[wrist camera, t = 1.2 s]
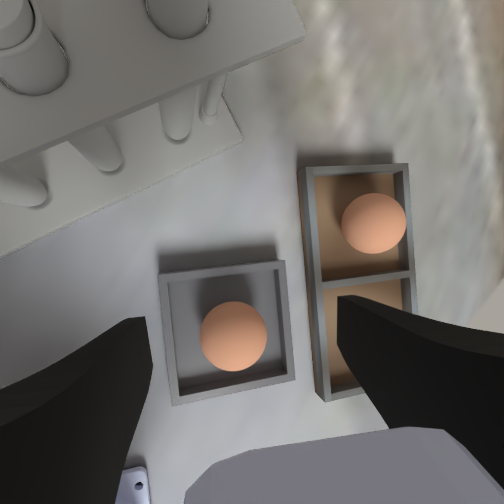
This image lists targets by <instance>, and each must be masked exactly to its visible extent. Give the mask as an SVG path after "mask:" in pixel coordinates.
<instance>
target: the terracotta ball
mask: <svg viewBox="0 0 504 504" xmlns="http://www.w3.org/2000/svg"><path fill="white" fill-rule="evenodd" d="M266 342H267V329H266V326H265V322H264V320H263V318H262V317H261V315H260V314H259V313H258V312H257V311H256V310H255V309H254V308H253V307H251V306H250V305H248V304H245V303H243V302H237V301H232V302H225V303H222V304H220V305H218V306H216V307H215V308H213V309H212V310H211V311H210V312H209V313H208V314H207V316H206V317H205V319H204V321H203V322H202V325H201V329H200V345H201V348H202V351H203V353H204V355H205V357H206V358H207V359H208V360H209V361H210V362H211V363H212V364H213V365H214V366H216V367H218V368H220V369H222V370H226V371H240V370H243V369H246V368H248V367H250V366H251V365H253V364H254V363H255V362H256V361H257V360H258V359H259V358H260V356H261V355H262V353H263V351H264V349H265V346H266Z"/></svg>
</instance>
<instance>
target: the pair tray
mask: <svg viewBox="0 0 504 504" xmlns="http://www.w3.org/2000/svg"><path fill="white" fill-rule="evenodd" d="M297 179H298V191H299V203H300V215H301V227H302V239H303V251H304V262H305V274H306V286H307V298H308V310H309V322H310V334H311V346H312V358H313V370H314V382H315V392H316V393H317V394H318V396H319V397H320V398H321V399H322V400H323V401H324V402H330V401H334V400H338V399H342V398H346V397H351V396H355V395H359V394H363V393H365V391H364V390H363V388H362V387H361V385H360V384H359V383H358V381H357V380H356V378H355V377H354V375H353V374H352V372H351V371H350V369H349V368H348V366H347V364H346V362H345V360H344V358H343V356H342V354H341V352H340V350H339V348H338V346H337V296H345V295H357V296H361V297H365V298H368V299H371V300H374V301H377V302H380V303H382V304H385V305H388V306H391V307H394V308H397V309H400V310H403V311H406V312H409V313H412V314H415V315H418V304H417V289H416V274H415V259H414V244H413V229H412V214H411V199H410V184H409V169H408V163H398V164H371V165H344V166H317V167H305V168H303V169H301V170H300V171H298V172H297ZM370 193H380V194H384V195H388V196H390V197H392V198H393V199H395V200H396V201H397V202H398V203H399V204H400V205H401V207H402V208H403V210H404V213H405V216H406V229H405V232H404V235H403V237H402V238H401V240H400V241H399V242H398V243H397V244H396V245H395V246H394V247H393V248H391V249H389V250H387V251H385V252H382V253H376V254H369V253H364V252H361V251H358V250H356V249H355V248H353V247H352V246H351V245H350V244H349V243H348V242H347V241H346V239H345V237H344V235H343V233H342V228H341V221H342V216H343V213H344V211H345V209H346V208H347V206H348V205H349V204H350V203H351V202H352V201H353V200H355V199H356V198H358V197H360V196H362V195H365V194H370Z"/></svg>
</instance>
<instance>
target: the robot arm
mask: <svg viewBox="0 0 504 504" xmlns="http://www.w3.org/2000/svg"><path fill="white" fill-rule="evenodd" d="M337 346H338V348H339V350H340V352H341V354H342V356H343V358H344V360H345V362H346V364H347V366H348V368H349V369H350V371H351V372H352V374H353V375H354V377H355V378H356V380H357V381H358V383H359V384H360V385H361V387H362V388H363V390H364V391H365V393H366V394H367V396H368V397H369V399H370V400H371V401H372V403H373V404H374V406H375V407H376V409H377V410H378V412H379V413H380V415H381V416H382V418H383V419H384V421H385V422H386V424H387V426H388V427H389V429H387V430H380V431H374V432H367V433H360V434H354V435H347V436H341V437H334V438H327V439H321V440H314V441H307V442H301V443H294V444H288V445H281V446H274V447H268V448H261V449H254V450H249V451H246V452H243V453H241V454H238V455H235V456H233V457H230V458H227V459H224V460H222V461H219V462H216V463H214V464H213V465H211V466H210V467H209V468H208V469H207V470H206V471H205V472H204V473H203V474H202V475H201V476H200V477H199V478H198V480H197V481H196V482H195V483H194V484H193V485H192V486H191V487H190V488H189V489H188V490H187V491H186V493H185V499H184V504H504V334H502V333H496V332H489V331H483V330H477V329H471V328H466V327H462V326H457V325H453V324H448V323H444V322H440V321H436V320H432V319H429V318H425V317H422V316H419V315H415V314H412V313H409V312H406V311H403V310H400V309H397V308H394V307H391V306H388V305H385V304H382V303H380V302H377V301H374V300H371V299H368V298H365V297H361V296H357V295H345V296H337ZM152 369H153V362H152V356H151V350H150V344H149V338H148V332H147V326H146V320H145V316H144V317H134V318H127V319H125V320H123V321H121V322H119V323H118V324H116V325H115V326H113V327H112V328H110V329H109V330H107V331H106V332H104V333H103V334H101V335H100V336H98V337H97V338H95V339H94V340H92V341H91V342H89V343H87V344H86V345H84V346H83V347H81V348H79V349H78V350H76V351H74V352H73V353H71V354H70V355H68V356H66V357H65V358H63V359H61V360H60V361H58V362H56V363H54V364H52V365H51V366H49V367H47V368H45V369H43V370H41V371H39V372H37V373H35V374H33V375H31V376H29V377H27V378H25V379H23V380H21V381H19V382H16V383H14V384H12V385H9V386H7V387H5V388H3V389H0V504H151V503H150V495H149V486H148V477H147V471H146V469H145V468H144V467H135V468H131V469H127V470H123V467H124V463H125V460H126V457H127V453H128V450H129V447H130V444H131V441H132V438H133V435H134V432H135V430H136V427H137V424H138V421H139V418H140V415H141V412H142V409H143V406H144V403H145V400H146V397H147V394H148V390H149V385H150V380H151V375H152ZM137 482H142V483H143V484H142V485H136V483H137Z"/></svg>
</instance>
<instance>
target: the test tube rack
mask: <svg viewBox="0 0 504 504" xmlns="http://www.w3.org/2000/svg"><path fill="white" fill-rule="evenodd" d="M145 2H146V0H0V77H1V78H2V79H3V80H4V81H5V82H7V83H8V84H9V85H10V86H11V87H12V88H13V89H14V90H15V91H16V92H15V91H13V90H12V89H10V88H8V87H7V86H6V85H5V83H4V82H3V81H2V80H1V79H0V259H1V258H3V257H5V256H7V255H9V254H11V253H13V252H15V251H17V250H20V249H22V248H24V247H26V246H28V245H30V244H32V243H34V242H36V241H38V240H40V239H42V238H44V237H46V236H49V235H51V234H53V233H55V232H57V231H59V230H61V229H63V228H65V227H67V226H69V225H71V224H73V223H75V222H78V221H80V220H82V219H84V218H86V217H88V216H90V215H92V214H94V213H96V212H98V211H100V210H102V209H104V208H107V207H109V206H111V205H113V204H115V203H117V202H119V201H121V200H123V199H125V198H127V197H129V196H131V195H133V194H136V193H138V192H140V191H142V190H144V189H146V188H148V187H150V186H152V185H154V184H156V183H158V182H160V181H162V180H165V179H167V178H169V177H171V176H173V175H175V174H177V173H179V172H181V171H183V170H185V169H187V168H189V167H191V166H194V165H196V164H198V163H200V162H202V161H204V160H206V159H208V158H210V157H212V156H214V155H216V154H218V153H221V152H223V151H225V150H227V149H229V148H231V147H233V146H235V145H237V144H239V143H241V142H242V140H243V137H242V135H241V133H240V131H239V129H238V127H237V125H236V123H235V121H234V119H233V117H232V115H231V113H230V111H229V109H228V107H227V105H226V103H225V101H224V99H223V97H222V96H221V95H222V91H223V88H224V85H225V81H226V78H227V75H228V72H230V71H233V70H235V69H237V68H240V67H242V66H244V65H247V64H249V63H251V62H254V61H256V60H258V59H261V58H263V57H266V56H268V55H270V54H273V53H275V52H277V51H280V50H282V49H284V48H287V47H289V46H291V45H294V44H296V43H298V42H301V41H303V39H304V38H305V36H306V35H307V31H306V29H305V27H304V24H303V22H302V20H301V18H300V16H299V13H298V11H297V9H296V7H295V4H294V2H293V0H147V3H148V12H149V15H148V12H147V9H146V7H145ZM207 11H208V12H209V20H208V24H207V26H206V18H207ZM205 26H206V28H205ZM55 39H56V40H57V42H58V43H59V44H60V45H61V47H62V48H63V49H64V51H65V53H66V56H67V59H68V60H67V59H66V57H65V55H64V53H63V52H62V50H61V48H60V47H59V45H58V43H57V42H56V40H55ZM68 61H69V62H68Z"/></svg>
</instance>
